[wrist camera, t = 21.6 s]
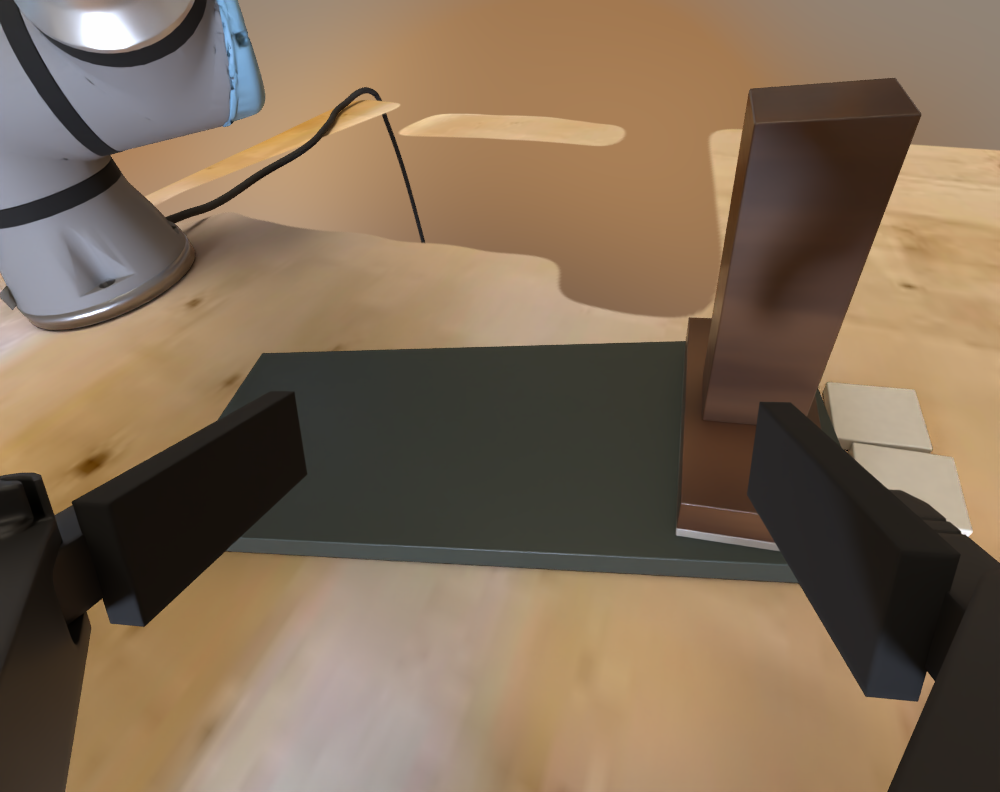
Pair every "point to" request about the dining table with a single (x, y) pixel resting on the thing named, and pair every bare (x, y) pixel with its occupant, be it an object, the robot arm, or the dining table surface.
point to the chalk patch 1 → (876, 416)
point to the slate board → (493, 460)
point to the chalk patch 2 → (918, 478)
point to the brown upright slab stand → (783, 280)
